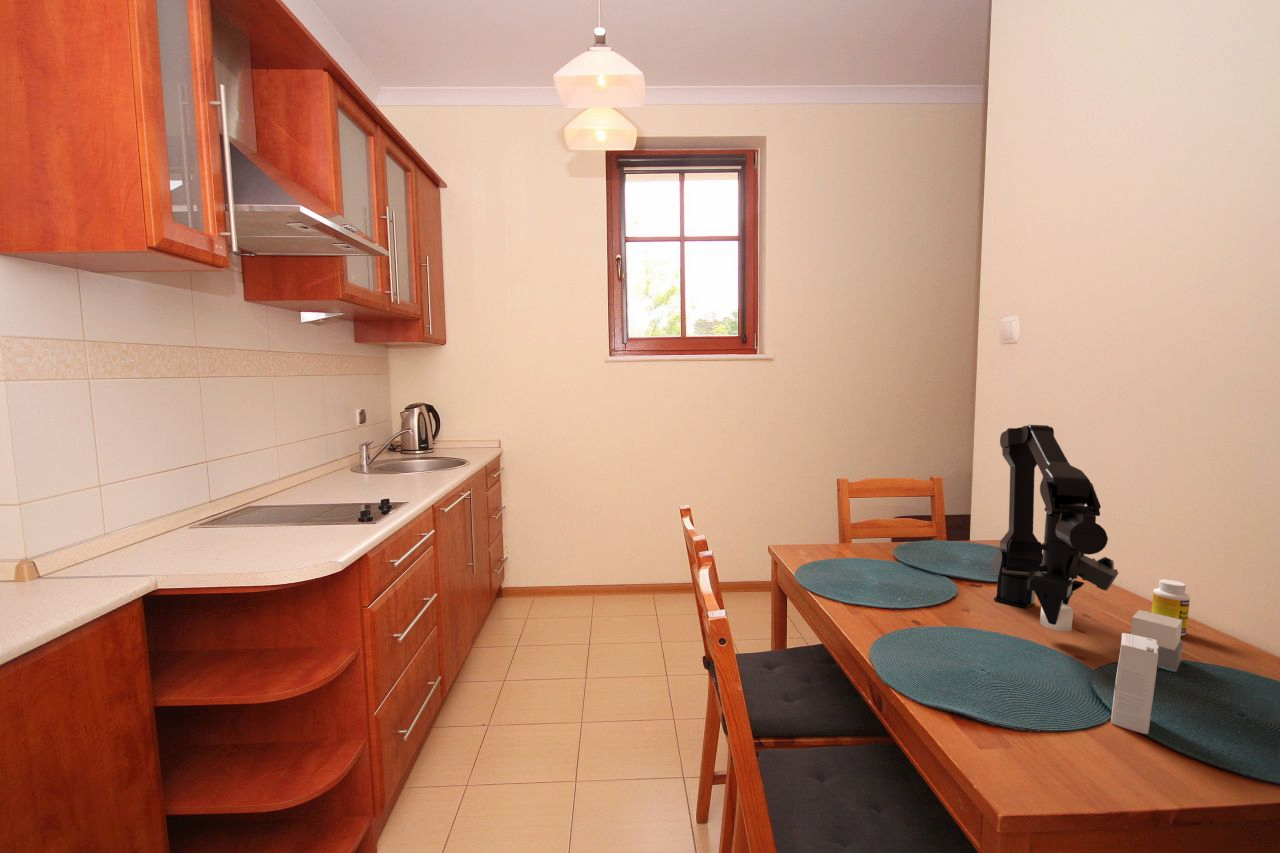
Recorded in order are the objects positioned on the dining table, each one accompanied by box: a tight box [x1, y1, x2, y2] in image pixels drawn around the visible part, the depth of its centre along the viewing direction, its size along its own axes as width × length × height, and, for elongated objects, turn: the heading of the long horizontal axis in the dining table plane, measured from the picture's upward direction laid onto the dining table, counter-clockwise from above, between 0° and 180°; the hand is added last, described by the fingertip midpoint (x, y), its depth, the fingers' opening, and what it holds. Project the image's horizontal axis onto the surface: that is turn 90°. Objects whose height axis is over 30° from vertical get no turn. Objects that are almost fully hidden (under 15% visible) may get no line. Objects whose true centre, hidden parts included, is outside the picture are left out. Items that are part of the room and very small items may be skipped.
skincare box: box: [1110, 632, 1159, 735], centre depth 86 cm, size 6×4×12 cm
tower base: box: [1129, 632, 1184, 671], centre depth 108 cm, size 7×7×4 cm
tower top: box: [1130, 609, 1182, 651], centre depth 107 cm, size 6×6×4 cm
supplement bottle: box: [1151, 579, 1191, 637], centre depth 121 cm, size 6×6×10 cm
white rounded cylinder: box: [1039, 603, 1074, 632], centre depth 114 cm, size 5×5×4 cm
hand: (1055, 620), depth 114 cm, fingers closed on white rounded cylinder, 5 cm apart
